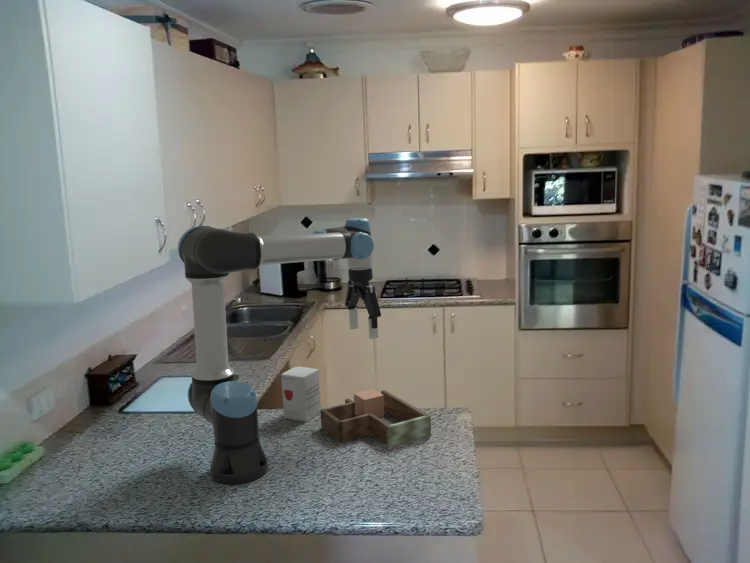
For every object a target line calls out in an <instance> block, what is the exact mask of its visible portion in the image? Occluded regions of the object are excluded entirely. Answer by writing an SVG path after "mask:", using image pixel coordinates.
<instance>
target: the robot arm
mask: <svg viewBox="0 0 750 563" xmlns="http://www.w3.org/2000/svg"><path fill="white" fill-rule="evenodd" d="M371 233H372V231H371V224H370V220H369V219H368V218H365V217H353V218H347V219H346V220H345V225H344V226H341V227H340V226H339V227H331V228H322V229H318V230H314V231H313V232H312V233H304V234H303V233H300V234H299V233H298V234H281V235H280V234H279V235H278V234H277V235H262V236H259V235H258V234H257V233H255V232H237V231H233V230H227V229H222V228H217V227H212V226H209V225H197V226H193V227H191V228H189V229H188V230H186V231H185V232H184V233H183V234H182V235H181V237H180V238H179V241H178V244H177V252H178V256H179V258H180V260H181V261H182V263H183V266H184V277H185V279H186V280H187V281H188V282H189V283H190V284H191V294H192V295H191V296H192V312H193V328H194V343H195V344H194V345H195V357H196V358H195V359H196V369H195V370H194V371H193V372H192V373H191V383H190V384H189V386H188V390H187V401H188V403H189V405H190V407H191V408H192V409H193V411H194V412H195V413H196V414H197V415H198V416H200V417H201V418H203V419H204V420H205V421H207V422H208V423H210V424H211V425H212V427H213V437H214V438H213V439H214V450H213V454H212V457H211V463H210V466H209V469H210V471H209V472H210V477H211V479H213V481H216V482H217V483H220V484H225V485H237V484H238V485H239V484H245V483H250V482H253V481H255V480H257V479H260V478H261V477H263V476H264V475H265V474H266V473H267V472H268V470H269V463H268V462H269V461H268V457H267V455H266V453H265V451H264V448H263V446H262V444H261V441H260V433H259V432H260V430H259V416H258V398H257V394H256V391H255V388H254V387H253V386H252V385H250V384H249V383H247V382H244V381H237V380H236V377H235V369H233V367H231V366H230V365H229V352H228V351H229V350H228V336H227V334H228V333H227V330H228V329H227V317H226V316H227V313H226V299H225V298H226V296H225V294H226V293H225V281H226V280H227V278H229V276H230V274H231V273H236V272H245V271H254V270H255V271H256V270H258V269H259V268H260V267H261V266H267V265H268V266H269V265H278V264H279V265H281V264H291V263H304V262H305V263H306V262H314V261H315V262H317V261H328V260H329V261H330V260H337V259H338V260H344V259H347V268H349V269H348V273H347V274H348V282H347V290H346V291H347V292H346V296H345V302H344V306H345V307H347V309H348V316H349V317H348V319H349V320H348V321H349V329H350V331H352V330H355V329H356V330H357V329H359V317H358V313H359V312H358V302H359V300H362V301H363V304H364V306H365V308H366V311H367V314H368V317H367V319H368V321H367V322H368V339H370V340H373V339H378V338H379V328H378V318H379V317H382V313H381V308H380V305H379V301H378V298H377V293H376V288H375V285H370V281H372V280H373V279H374V276H373V275H374V274H373V268H372V266H373V256H372V253H373V251H374V248H375V244H374V239H373V237H372V236H371Z"/></svg>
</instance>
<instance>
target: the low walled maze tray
mask: <svg viewBox="0 0 750 563" xmlns="http://www.w3.org/2000/svg"><path fill="white" fill-rule="evenodd" d="M380 393H381V394H382V395H384V412H385V411H386V412H387V413H389V414H391V415H392V416H393V417H394V418H395V417H396V418H397V419H399V420H401V421H400V422H399V421H398V422H396V423H392V424H389V423H388V422H386V421H385V420H383V419H381V417H377V416H375V415H374V414H372V413H370V414H371V415H370V434H369V435H371V436H373V437H374V438H376V439H377V440H378V441H380V442H381V443H383V444H385V446H387V447H389V448H392V447H395V446H397V445H402V444H405V443H409V442H411V441H415V440H419V439H422V438H426V437H429V436H432V422H431V421H432V420H431V418H432V417H431V416H432V415H430V414H428V413H426V412H425V411H423V410H421V409H419V408H417V407H415V406H413V405H412V404H410V403H408V402H407V401H405V400H403V399H401V398H399V397H397V395H394V394H392V393H391V392H388V391H387V390H385V389H383V390H380ZM344 401H345V402H344V404H346V403H350V402H352V405H353V404H354V405H353V406H352V409H353V411H352V412H354V413H352V414H353V415H354V416H353V415H352V416H353V417H357V415H356V411H355V402H354V400H351V399H350V398H345V399H344ZM353 407H354V408H353Z"/></svg>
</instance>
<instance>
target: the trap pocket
mask: <svg viewBox="0 0 750 563" xmlns="http://www.w3.org/2000/svg"><path fill="white" fill-rule="evenodd" d="M353 405H354V404H353ZM353 405H352V402H350V403H346V404H345V403H343V404H337V405H335V406H331V407H326V408H321V410H320V411H321V413H320V423H321V424H320V426H321V427H320V428H321V429H322V430H323V431H324V432H326V433H327V434H328V433H329V434H328V435H330V436H331V437H333V439H334V440H336V441H338V442H339V443H342V442H346V441H349V440H353V439H358V438H360V437H364V436H368V435H371V434H370V415H371V414H370V413H369V414H365V415H361V416H357V415H356V417H353V416H354V415H353V414H352V413H354V412H352V411H353V409H352V406H353ZM353 408H354V407H353ZM352 415H353V416H352Z"/></svg>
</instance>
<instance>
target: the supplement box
mask: <svg viewBox="0 0 750 563" xmlns="http://www.w3.org/2000/svg"><path fill="white" fill-rule="evenodd" d="M280 376H281V389H282V406H283V418H284V419H288V420H293V421H297V422H298V421H299V422H304V423H307V422H309V421H311V420H312V419H314V418H315V417H316V416H317V415H319V414H321V411H320V410H321V409H322V408H321V390H320V389H321V388H320V369H318V368H313V367H306V366H297V365H295V366H294V367H293V368H290V369H289V370H287V371H284V372H283V373H281V374H280Z"/></svg>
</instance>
